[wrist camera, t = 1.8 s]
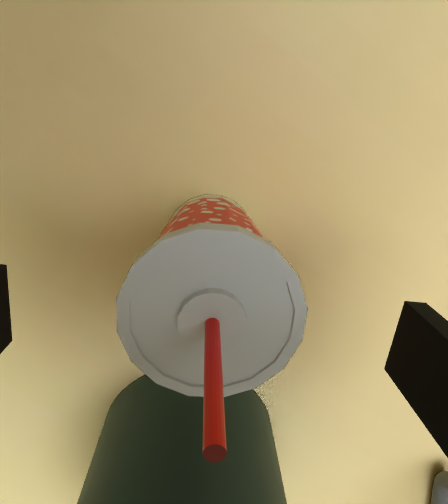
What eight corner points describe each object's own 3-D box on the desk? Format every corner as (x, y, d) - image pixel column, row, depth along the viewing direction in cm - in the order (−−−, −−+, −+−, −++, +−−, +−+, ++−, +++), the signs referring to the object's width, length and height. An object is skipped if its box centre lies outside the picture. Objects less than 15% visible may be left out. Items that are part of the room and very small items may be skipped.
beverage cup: (270, 280, 21) (368, 541, 8) (164, 293, 21) (93, 573, 8) (262, 172, 19) (376, 292, 6) (144, 186, 19) (8, 336, 6)
